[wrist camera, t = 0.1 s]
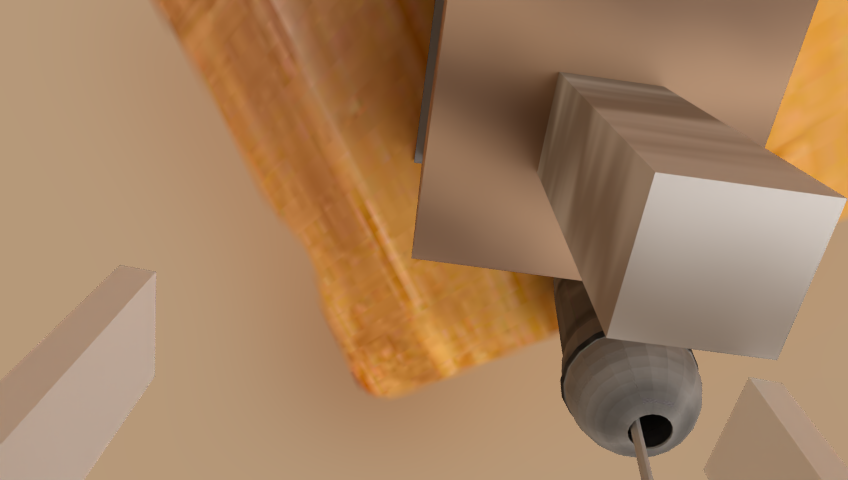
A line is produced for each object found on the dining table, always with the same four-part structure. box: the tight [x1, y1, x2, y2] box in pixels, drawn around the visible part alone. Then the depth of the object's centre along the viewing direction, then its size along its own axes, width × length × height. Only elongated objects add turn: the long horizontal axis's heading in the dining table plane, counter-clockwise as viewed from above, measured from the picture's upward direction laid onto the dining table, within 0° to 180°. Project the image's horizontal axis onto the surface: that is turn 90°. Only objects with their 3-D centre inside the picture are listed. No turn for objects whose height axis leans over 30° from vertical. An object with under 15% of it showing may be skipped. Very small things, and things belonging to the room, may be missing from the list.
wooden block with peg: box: [412, 0, 847, 360], centre depth 26 cm, size 13×13×27 cm
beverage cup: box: [553, 277, 702, 480], centre depth 36 cm, size 7×7×20 cm
